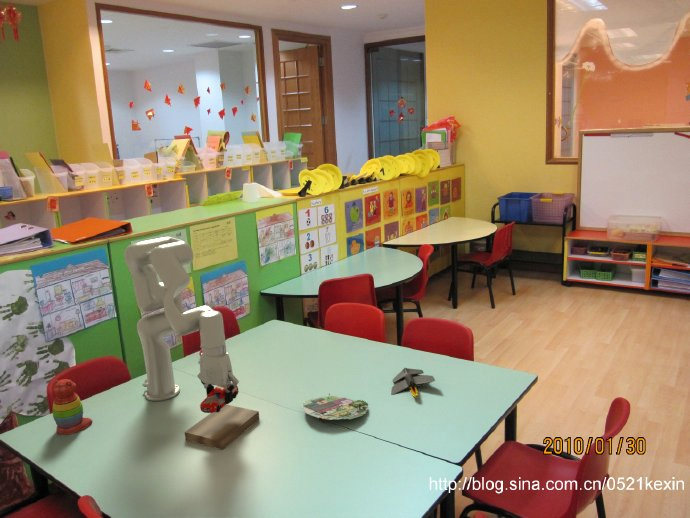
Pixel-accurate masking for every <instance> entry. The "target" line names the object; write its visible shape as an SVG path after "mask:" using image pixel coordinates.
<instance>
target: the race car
mask: <svg viewBox="0 0 690 518" xmlns="http://www.w3.org/2000/svg"><path fill="white" fill-rule="evenodd" d="M227 386H228V384H227ZM228 388H229V386H228ZM225 392H226V391H225V389H224V387H223V386H216V387H214V389H213V390H212V391H211V392H210V393H209V394H207V393H206V398H205V399H203V401H202V402H201V403H200V404H199V407H200V408H199V409H200V411H201V412H202V413H205V414H210V413H214V412H220V409H221V408H223V407H224V406H225V405H227V404H226V401H225ZM232 392H233V400H234V399H237V396H238V394H239V393H240V392H239V387H238V384H237V385H236V387H235V388H234V389H233V390H232Z"/></svg>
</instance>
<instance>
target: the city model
mask: <svg viewBox="0 0 690 518" xmlns="http://www.w3.org/2000/svg"><path fill="white" fill-rule="evenodd" d="M368 406H369V405H368V402H366V401H365V400H363V399H362V400H361V399H359V400H358V399H355V400H354V399H351V398H346V397H342V396H337V395H335V396H333V395H331V394H330V392H329V393H328V396H324V395H323V396H319V397H316V398H312V399H308V400H305V401H304V402H302V405H301V409H302V410H303V412H304V413H305V414H307V415H309V416H311V417H315V418H318V421H319V422H320V421H322V423H325V422H327V421H328V420H330V421H331V420H353V419H357V418H359V417H362V416H364V415H365V414H366V413H367V412H368V410H369V408H370V407H368Z"/></svg>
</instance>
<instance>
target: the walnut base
mask: <svg viewBox="0 0 690 518" xmlns="http://www.w3.org/2000/svg"><path fill="white" fill-rule="evenodd" d="M259 420H260V411H258V410H253V409H250V408H245V407H239V406H235V405H230V404H226V405H225V406H224V407H223V408H221V409H220V412H214V413H208V414H207V415H206V416H204V417H203V418H202V419H200V420H199V421H198V422H196V423H195V424H193V425H191V427H189V428H188V429H187V430H185V431H184V437H185V441H186V442H191V443H193V444H199V445H202V446H205V447H210V448H213V449H218V450H222V451H224V450H225V449H226V448H227V447H228V446H229V445H231V444H232V443H233V442H234V441H235V440H237V439H238V438H239V437H240V436H241V435H243V434H244V433H245V432H247V430H249V429H250V428H251V427H253V425H255V424H256V423H257V422H258V421H259Z"/></svg>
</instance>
